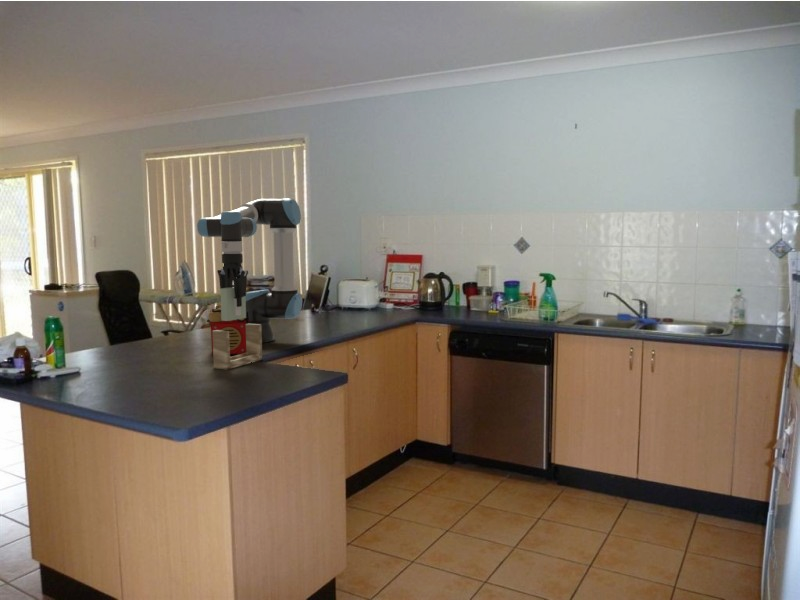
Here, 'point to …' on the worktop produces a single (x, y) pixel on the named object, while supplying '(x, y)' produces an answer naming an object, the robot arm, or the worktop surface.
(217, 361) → the u-shaped stone holder
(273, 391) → the worktop surface
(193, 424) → the worktop surface
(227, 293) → the door panel
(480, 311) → the worktop surface
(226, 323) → the radio
